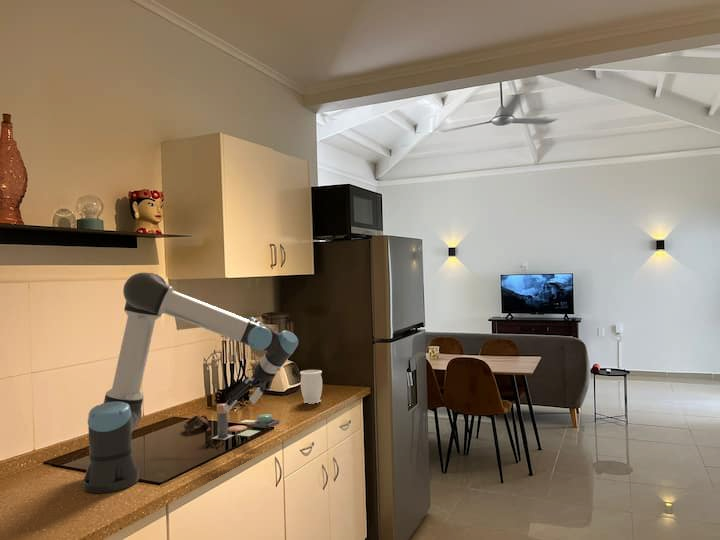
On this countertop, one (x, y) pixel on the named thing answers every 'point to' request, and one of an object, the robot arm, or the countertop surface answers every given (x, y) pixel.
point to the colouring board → (248, 432)
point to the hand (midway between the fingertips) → (238, 405)
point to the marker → (222, 421)
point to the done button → (264, 418)
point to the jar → (311, 386)
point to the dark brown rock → (197, 423)
